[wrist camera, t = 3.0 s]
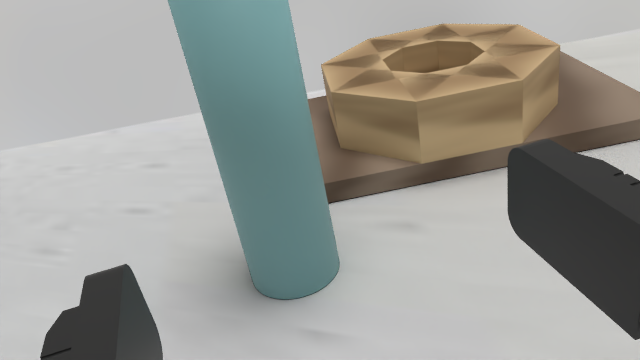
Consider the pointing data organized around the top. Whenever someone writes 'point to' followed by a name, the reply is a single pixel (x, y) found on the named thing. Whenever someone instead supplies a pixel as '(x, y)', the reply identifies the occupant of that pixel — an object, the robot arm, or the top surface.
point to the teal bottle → (261, 138)
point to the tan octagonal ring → (442, 90)
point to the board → (559, 126)
